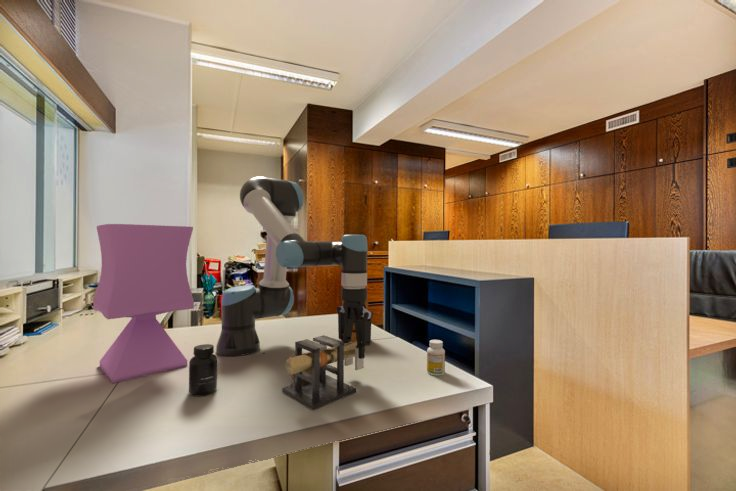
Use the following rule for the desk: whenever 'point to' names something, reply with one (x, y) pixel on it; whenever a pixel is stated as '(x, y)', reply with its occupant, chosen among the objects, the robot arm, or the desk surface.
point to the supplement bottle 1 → (203, 371)
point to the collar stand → (319, 375)
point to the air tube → (326, 357)
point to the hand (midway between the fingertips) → (353, 366)
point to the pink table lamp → (142, 295)
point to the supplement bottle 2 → (436, 358)
